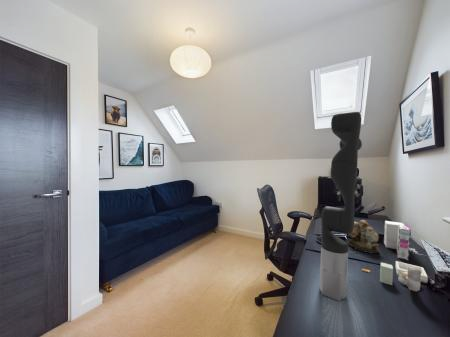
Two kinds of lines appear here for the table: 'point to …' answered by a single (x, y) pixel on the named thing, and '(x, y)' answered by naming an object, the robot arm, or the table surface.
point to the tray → (404, 268)
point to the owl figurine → (364, 237)
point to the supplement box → (391, 234)
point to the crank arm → (412, 278)
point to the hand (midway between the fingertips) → (347, 202)
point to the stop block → (386, 273)
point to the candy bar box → (403, 242)
